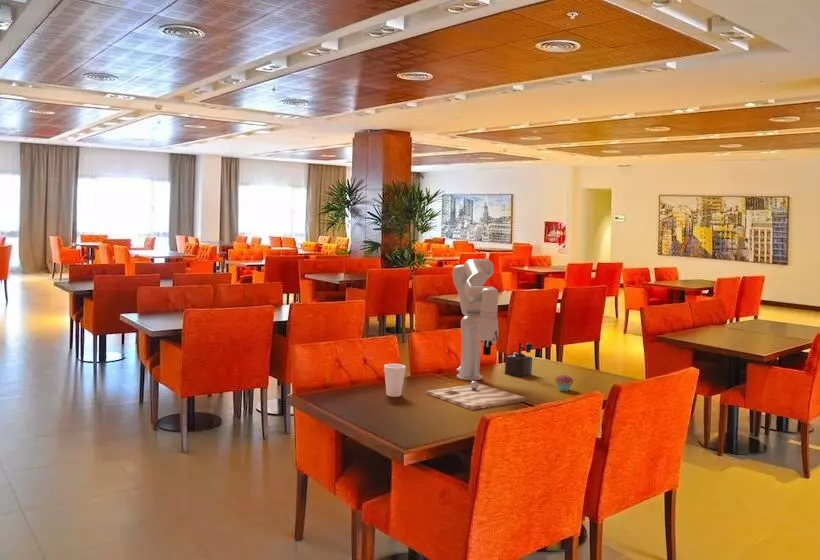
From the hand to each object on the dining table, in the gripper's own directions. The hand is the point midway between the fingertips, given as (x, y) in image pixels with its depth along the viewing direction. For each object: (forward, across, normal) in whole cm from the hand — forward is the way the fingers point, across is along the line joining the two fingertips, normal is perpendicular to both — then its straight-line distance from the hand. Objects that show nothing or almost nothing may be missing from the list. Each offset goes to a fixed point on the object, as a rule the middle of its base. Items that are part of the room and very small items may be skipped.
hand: (486, 354), depth 325 cm
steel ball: (+14, 0, -7) cm, 15 cm away
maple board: (+17, +7, -12) cm, 22 cm away
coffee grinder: (+17, -17, +42) cm, 49 cm away
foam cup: (+17, -14, -42) cm, 48 cm away
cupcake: (+17, +16, +36) cm, 43 cm away
